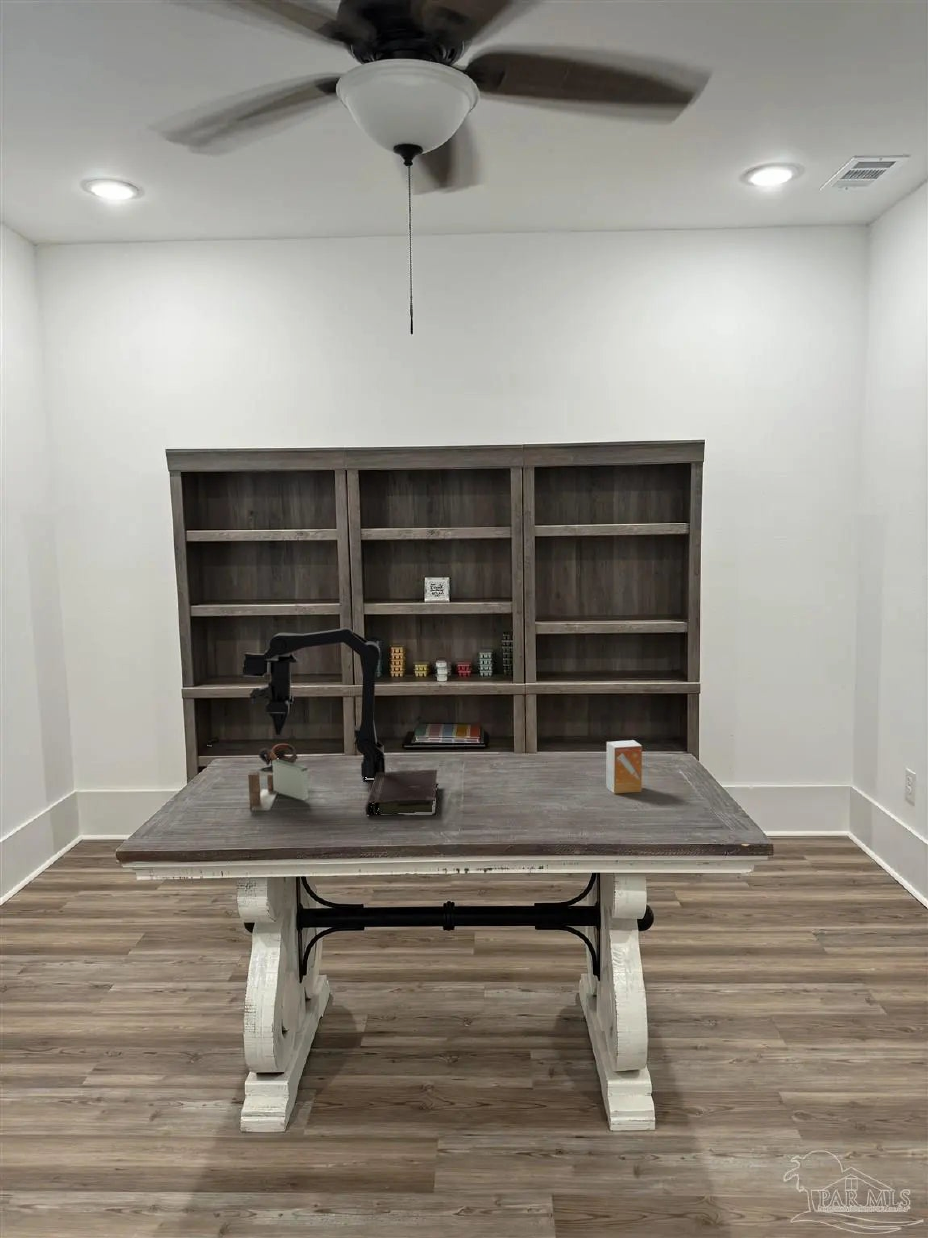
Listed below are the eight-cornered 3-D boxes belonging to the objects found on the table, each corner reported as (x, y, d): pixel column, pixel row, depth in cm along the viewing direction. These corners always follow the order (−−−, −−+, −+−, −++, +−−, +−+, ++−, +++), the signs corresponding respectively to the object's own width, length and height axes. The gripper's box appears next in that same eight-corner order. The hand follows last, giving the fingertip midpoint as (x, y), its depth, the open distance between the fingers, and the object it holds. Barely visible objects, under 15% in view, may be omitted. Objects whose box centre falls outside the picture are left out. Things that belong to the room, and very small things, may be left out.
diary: (365, 820, 221) (364, 800, 220) (374, 788, 246) (373, 771, 245) (438, 817, 221) (438, 798, 220) (440, 786, 246) (439, 769, 245)
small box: (614, 794, 235) (614, 747, 233) (605, 787, 241) (605, 741, 239) (642, 792, 236) (642, 745, 235) (633, 785, 243) (633, 739, 241)
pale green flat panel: (273, 790, 240) (272, 760, 239) (279, 788, 242) (278, 759, 241) (302, 800, 231) (301, 769, 230) (308, 798, 233) (307, 767, 232)
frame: (279, 790, 244) (278, 759, 242) (269, 810, 227) (268, 776, 226) (259, 791, 243) (258, 759, 242) (248, 811, 227) (246, 777, 226)
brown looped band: (298, 763, 272) (301, 744, 267) (291, 784, 264) (294, 765, 260) (260, 754, 271) (263, 735, 267) (252, 775, 263) (254, 756, 259)
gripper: (255, 672, 256) (254, 724, 257) (247, 682, 238) (246, 738, 239) (294, 672, 257) (293, 724, 259) (288, 683, 239) (287, 739, 240)
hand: (279, 731), depth 249 cm, fingers open, 9 cm apart
